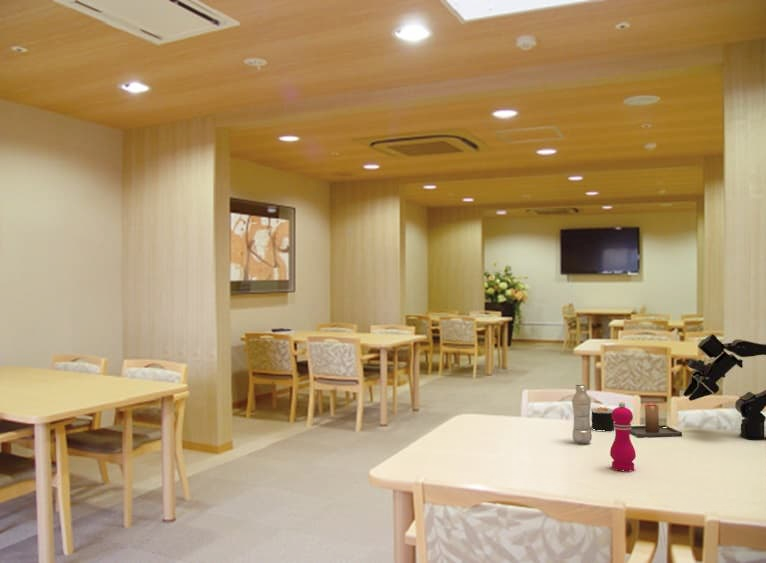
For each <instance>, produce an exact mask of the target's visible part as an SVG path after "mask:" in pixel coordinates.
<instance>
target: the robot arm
mask: <svg viewBox="0 0 766 563" xmlns="http://www.w3.org/2000/svg"><path fill="white" fill-rule="evenodd" d="M697 348H698V349H699V350H700V351H701V352H703V353H704V354H705V355H706V356H707V357H708V358H709V359H711V358H713V359H714V360H713V361H712V362H707V364H705V360H701V359H698V360H696V359H694V358H689V359H690V360H689V362H688V363H687V367H688V368H689V369H692V370H693V371H692V372H690V375H689V376H690V382H689V383H688V386H686V388H685V390H684V392H683V393H682V394H683V396H685V397H688V400H689V401H690V402H692V401H695V400H697V399H701V398H703V397H707V396H710V395H713V394H714V395H716V394H717V393H719V391H720V386H719V385H718V384H717V382H718V381H720V380H721V379H722V378H723V379H725V377H726V374H727V373H729V372H730V371H731V370H732V369H733V368H734V367H735V366H737V367H739V368H740V369H742V368H744V366H743V365H744V364H743V363H744V362H743V361H744V360H743V359H741V358H750V357H751V358H752V357H756V356H766V343H758V342H754V341H749V340H745V339H744V340H743V339H737V338H736V339H734V340H733V341H732V342H729V343H723V342H722V341H721V340H719V339H718V337H717V335H715V334H713V333H710V335H709V336H707V337H705V338H704V339H702V340H701V341H700V342H699V343H698V344H697ZM728 352H730V354H728ZM737 356H738V357H740V359H739V358H737ZM765 408H766V389H764V390H763V391H761V392H758V393H753V392H752V391H748V392H746V393H745V394H744V395H741V396H738V399H736V401H735V410H736V411H737V412H738V413H739V414H740V415H741V418H742V419H741V423H740V433H739V435H740V437H742V438H744V437H745V439H747V440H750V441H751V440H754V439H756V440H766V436H765V422H766V416H765V415H764V413H762V412H763V411H764V409H765ZM739 435H738V436H739Z"/></svg>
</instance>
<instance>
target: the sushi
mask: <svg viewBox="0 0 766 563" xmlns="http://www.w3.org/2000/svg"><path fill="white" fill-rule="evenodd" d="M613 410H614V409H612V408H609V407H602V406H599V407H593V408H590V411H591V429H592V428H593V429H595V430H605V431H604V432H606V431H609V432H613V431H614V430H615V428H614V423H615V422H614V420H613V419H612V411H613ZM593 429H592V430H593ZM612 430H613V431H612Z"/></svg>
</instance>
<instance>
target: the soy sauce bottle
mask: <svg viewBox="0 0 766 563" xmlns="http://www.w3.org/2000/svg"><path fill="white" fill-rule="evenodd" d="M659 407H660V406H659V405H658V404H656V403H654V402H648V403H646V404H644V413H645V414H644V421H645V424H644V426H645V431H646V432H649V433H658V432H659V425H660V418H659V415H660V414H659V413H660V412H659V410H660V408H659Z"/></svg>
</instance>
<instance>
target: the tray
mask: <svg viewBox="0 0 766 563" xmlns="http://www.w3.org/2000/svg"><path fill="white" fill-rule="evenodd" d="M663 427H667V428H663ZM629 434H630V435H632V436H634V437H635V438H638V439H640V438H641V439H642V438H644V437H648V438H668V437H669V438H670V437H671V438H673V437H683V432H682V431H680V430H677V429H675V428H673V427H671V426H668V425H666V424H659V432H658V433H649V432H646V431H645V425H631V429H630V433H629ZM644 439H645V438H644Z"/></svg>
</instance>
